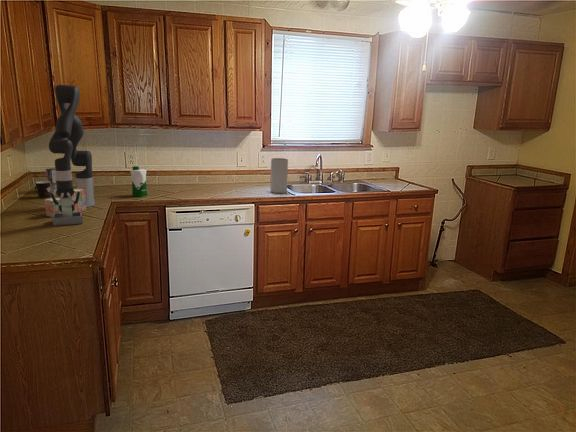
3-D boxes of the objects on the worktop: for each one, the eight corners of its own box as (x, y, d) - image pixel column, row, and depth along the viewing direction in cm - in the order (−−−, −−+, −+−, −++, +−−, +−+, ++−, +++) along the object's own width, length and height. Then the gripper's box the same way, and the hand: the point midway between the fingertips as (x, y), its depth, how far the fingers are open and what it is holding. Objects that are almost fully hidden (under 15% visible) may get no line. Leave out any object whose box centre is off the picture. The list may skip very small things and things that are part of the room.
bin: (53, 221, 223) (53, 213, 222) (82, 219, 229) (81, 211, 228) (53, 226, 214) (52, 218, 213) (82, 223, 220) (81, 216, 219)
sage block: (62, 215, 222) (60, 196, 220) (72, 214, 224) (70, 196, 222) (62, 217, 218) (60, 198, 215) (72, 216, 220) (70, 197, 217)
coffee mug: (47, 195, 283) (45, 180, 281) (54, 197, 279) (53, 182, 277) (29, 198, 273) (27, 182, 271) (36, 200, 269) (35, 184, 267)
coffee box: (63, 192, 295) (61, 169, 291) (53, 193, 290) (51, 170, 286) (56, 190, 300) (54, 167, 296) (47, 191, 295) (44, 168, 291)
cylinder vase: (267, 192, 321) (268, 159, 315) (274, 189, 332) (275, 157, 326) (283, 194, 317) (284, 160, 310) (289, 191, 328) (290, 158, 322)
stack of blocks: (53, 217, 231) (51, 195, 228) (45, 216, 233) (43, 193, 230) (86, 209, 250) (85, 189, 247) (79, 208, 252) (77, 188, 249)
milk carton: (138, 194, 298) (137, 165, 293) (149, 195, 295) (148, 166, 291) (130, 196, 290) (128, 167, 285) (141, 197, 287) (139, 168, 282)
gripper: (79, 177, 223) (82, 209, 227) (48, 178, 216) (51, 211, 221) (79, 179, 216) (82, 212, 220) (47, 180, 210) (51, 214, 214)
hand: (67, 211), depth 220 cm, fingers closed on sage block, 4 cm apart
